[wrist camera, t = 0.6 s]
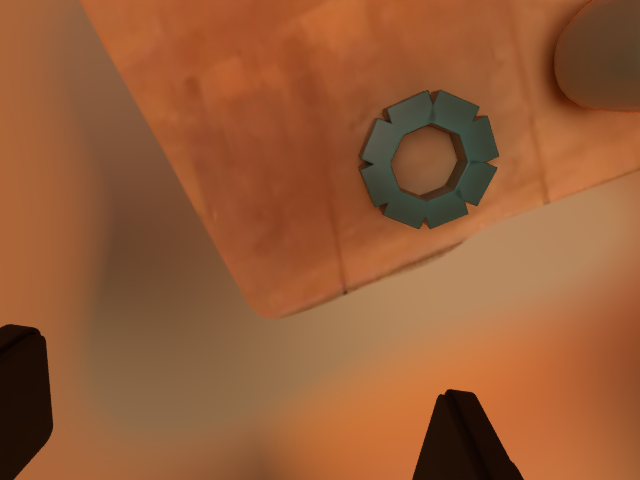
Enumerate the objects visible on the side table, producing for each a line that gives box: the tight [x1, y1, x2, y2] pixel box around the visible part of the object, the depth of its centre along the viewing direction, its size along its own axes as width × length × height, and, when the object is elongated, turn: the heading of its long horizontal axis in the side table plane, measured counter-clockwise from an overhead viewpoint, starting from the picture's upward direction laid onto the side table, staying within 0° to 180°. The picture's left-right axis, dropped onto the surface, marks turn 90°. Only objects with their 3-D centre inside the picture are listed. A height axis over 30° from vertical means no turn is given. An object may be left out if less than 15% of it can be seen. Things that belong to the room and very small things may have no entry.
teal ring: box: [358, 90, 499, 229], centre depth 28 cm, size 10×10×2 cm
